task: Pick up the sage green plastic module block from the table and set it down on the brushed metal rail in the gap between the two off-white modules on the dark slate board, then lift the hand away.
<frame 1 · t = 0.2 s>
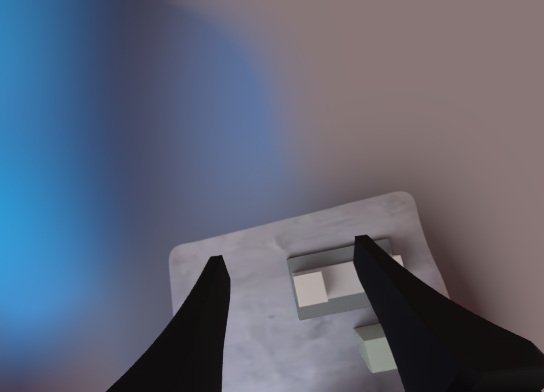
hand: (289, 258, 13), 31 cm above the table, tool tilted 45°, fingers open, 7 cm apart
rail board: (343, 277, 41), on the table
module block: (371, 338, 39), on the table
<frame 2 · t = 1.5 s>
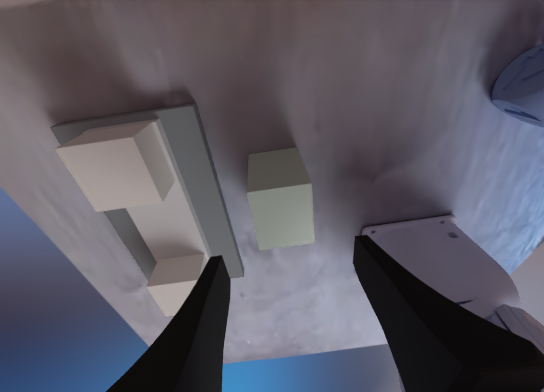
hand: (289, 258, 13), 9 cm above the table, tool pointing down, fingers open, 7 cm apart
rail board: (171, 212, 22), on the table
decorative dice: (516, 81, 18), on the table
module block: (276, 177, 21), on the table
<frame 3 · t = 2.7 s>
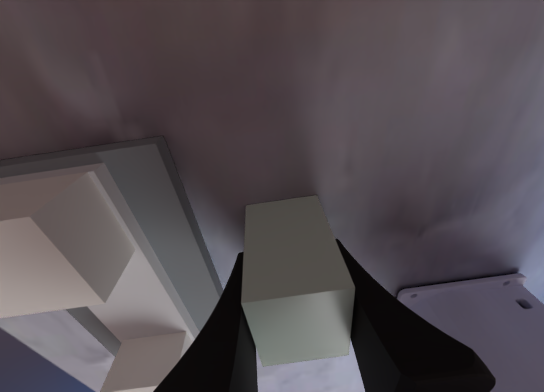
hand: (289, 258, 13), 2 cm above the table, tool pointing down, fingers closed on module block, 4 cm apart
rail board: (140, 277, 16), on the table
module block: (285, 233, 15), on the table, touching gripper
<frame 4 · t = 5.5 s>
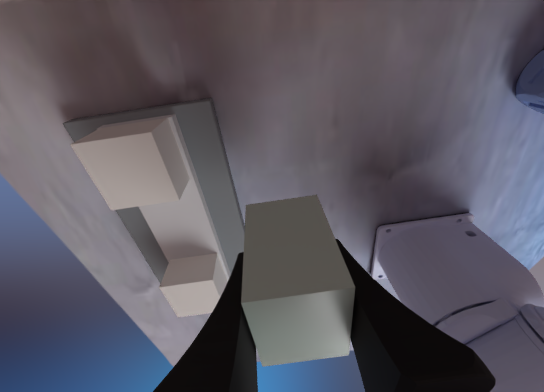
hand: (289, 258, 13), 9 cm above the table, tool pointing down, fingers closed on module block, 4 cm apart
rail board: (184, 210, 22), on the table
decorative dice: (541, 75, 17), on the table
module block: (285, 233, 15), point 7 cm above the table, touching gripper
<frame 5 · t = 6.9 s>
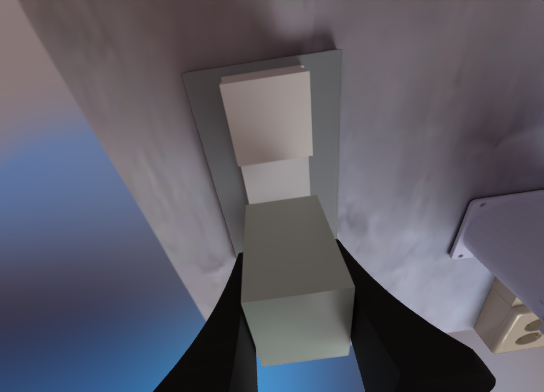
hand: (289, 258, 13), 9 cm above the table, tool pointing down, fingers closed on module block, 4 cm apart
rail board: (276, 180, 20), on the table
electrical outlet: (512, 286, 32), on the table
module block: (285, 233, 15), point 7 cm above the table, touching gripper
when the fingers open (5 cm above the table, at t = 8.1 s): module block drops 1 cm, resting on rail board.
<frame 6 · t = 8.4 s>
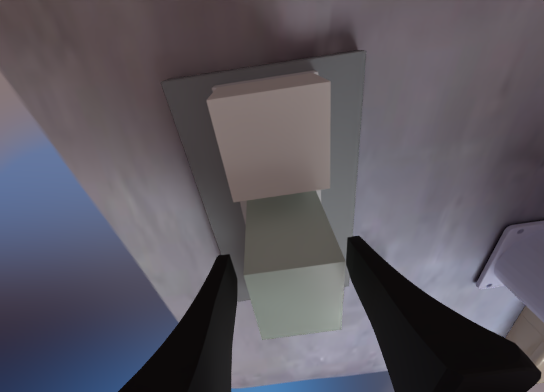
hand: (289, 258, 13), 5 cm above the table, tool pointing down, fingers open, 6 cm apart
rail board: (281, 205, 17), on the table
electrical outlet: (541, 311, 29), on the table
module block: (284, 221, 16), point 2 cm above the table, touching rail board
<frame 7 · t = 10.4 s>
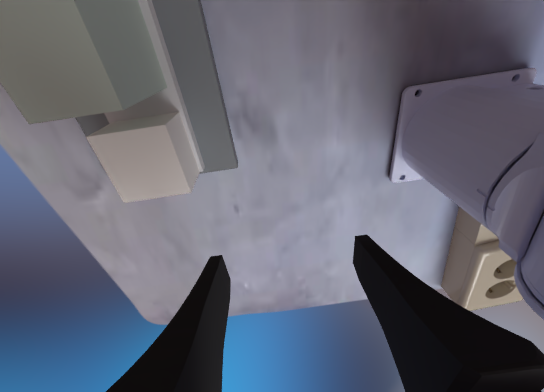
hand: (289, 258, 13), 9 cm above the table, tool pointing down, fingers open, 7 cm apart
rail board: (130, 45, 15), on the table
electrical outlet: (481, 228, 27), on the table
module block: (116, 45, 14), point 2 cm above the table, touching rail board
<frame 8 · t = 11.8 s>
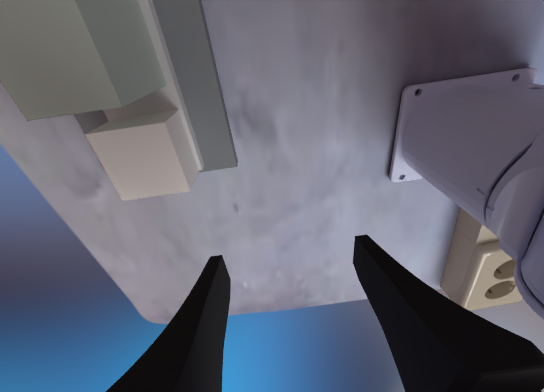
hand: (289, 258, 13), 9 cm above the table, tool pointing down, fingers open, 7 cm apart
rail board: (129, 43, 15), on the table
electrical outlet: (481, 228, 27), on the table
module block: (116, 42, 13), point 2 cm above the table, touching rail board
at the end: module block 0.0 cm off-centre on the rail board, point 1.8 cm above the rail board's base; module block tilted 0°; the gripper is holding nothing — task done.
